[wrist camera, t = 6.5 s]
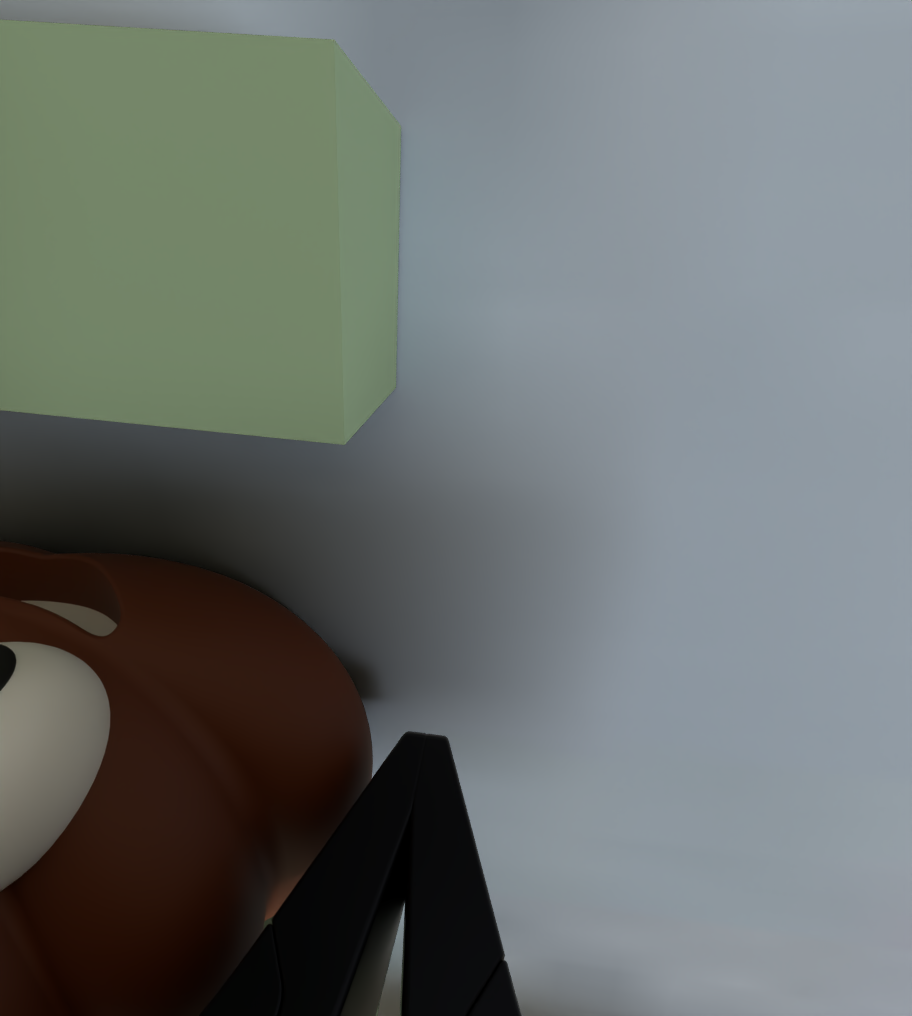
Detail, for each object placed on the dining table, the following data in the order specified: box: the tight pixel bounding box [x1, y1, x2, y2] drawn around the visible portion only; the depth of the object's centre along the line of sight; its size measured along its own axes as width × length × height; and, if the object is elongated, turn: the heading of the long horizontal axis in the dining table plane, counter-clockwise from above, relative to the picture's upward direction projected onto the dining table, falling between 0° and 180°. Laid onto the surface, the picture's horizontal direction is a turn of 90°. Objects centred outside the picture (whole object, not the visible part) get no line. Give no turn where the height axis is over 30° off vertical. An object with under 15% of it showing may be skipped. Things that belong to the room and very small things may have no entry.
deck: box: [0, 20, 401, 1016], centre depth 9 cm, size 20×12×4 cm, turn 176°
